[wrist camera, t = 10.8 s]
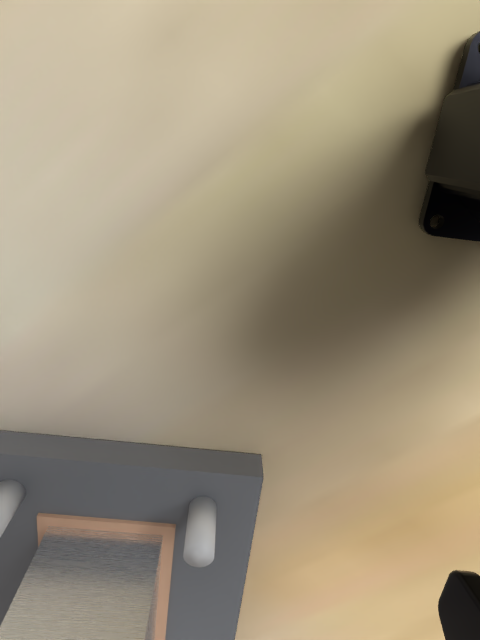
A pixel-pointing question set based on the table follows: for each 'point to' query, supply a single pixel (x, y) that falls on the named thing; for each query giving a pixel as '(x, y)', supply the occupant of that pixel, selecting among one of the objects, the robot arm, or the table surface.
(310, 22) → the table surface
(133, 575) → the drive
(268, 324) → the table surface
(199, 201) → the table surface
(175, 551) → the tray
